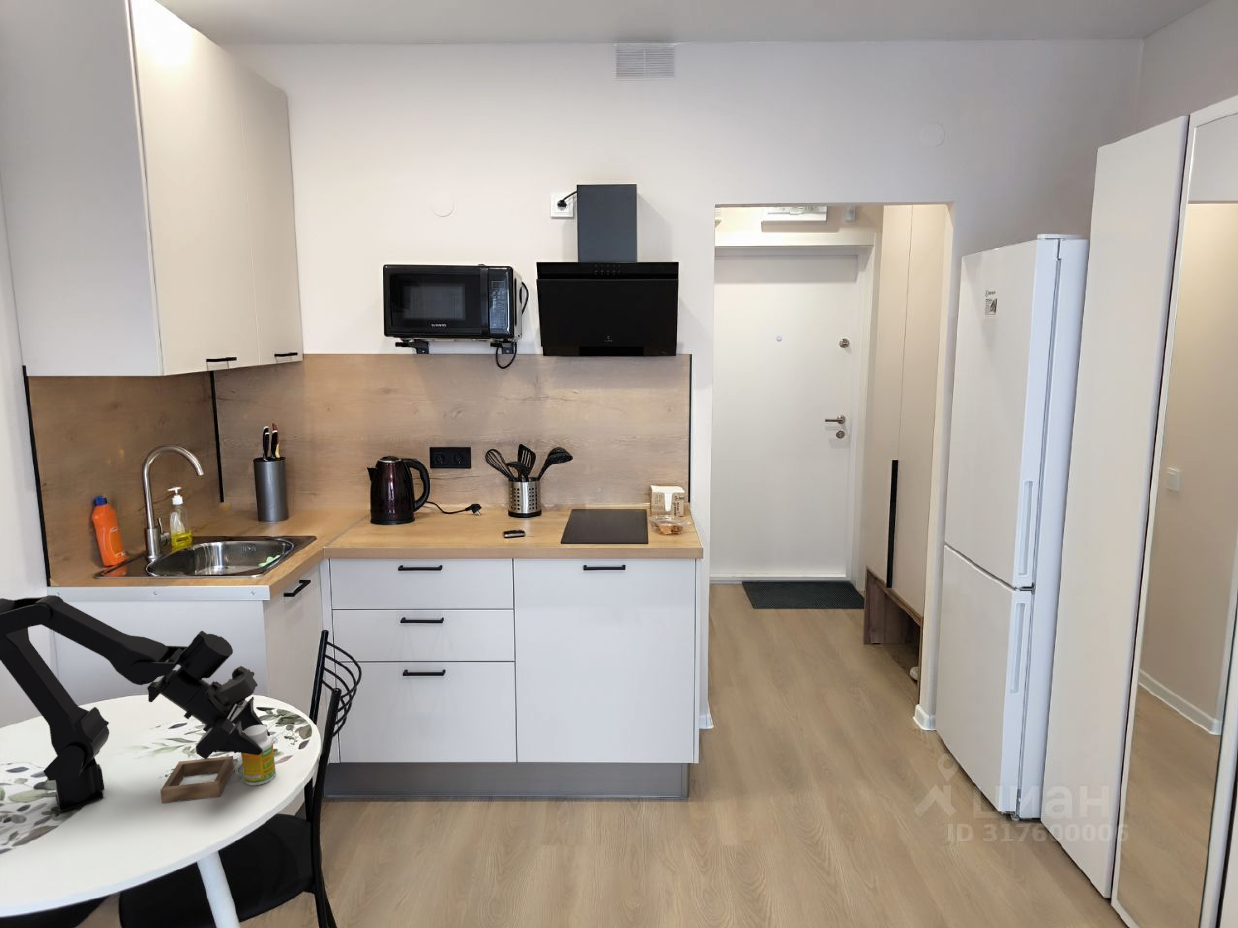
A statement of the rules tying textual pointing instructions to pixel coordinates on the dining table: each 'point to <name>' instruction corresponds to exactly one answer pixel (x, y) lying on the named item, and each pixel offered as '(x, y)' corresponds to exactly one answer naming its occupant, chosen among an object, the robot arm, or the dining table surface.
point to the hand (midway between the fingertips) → (264, 744)
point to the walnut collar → (197, 790)
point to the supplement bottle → (259, 757)
